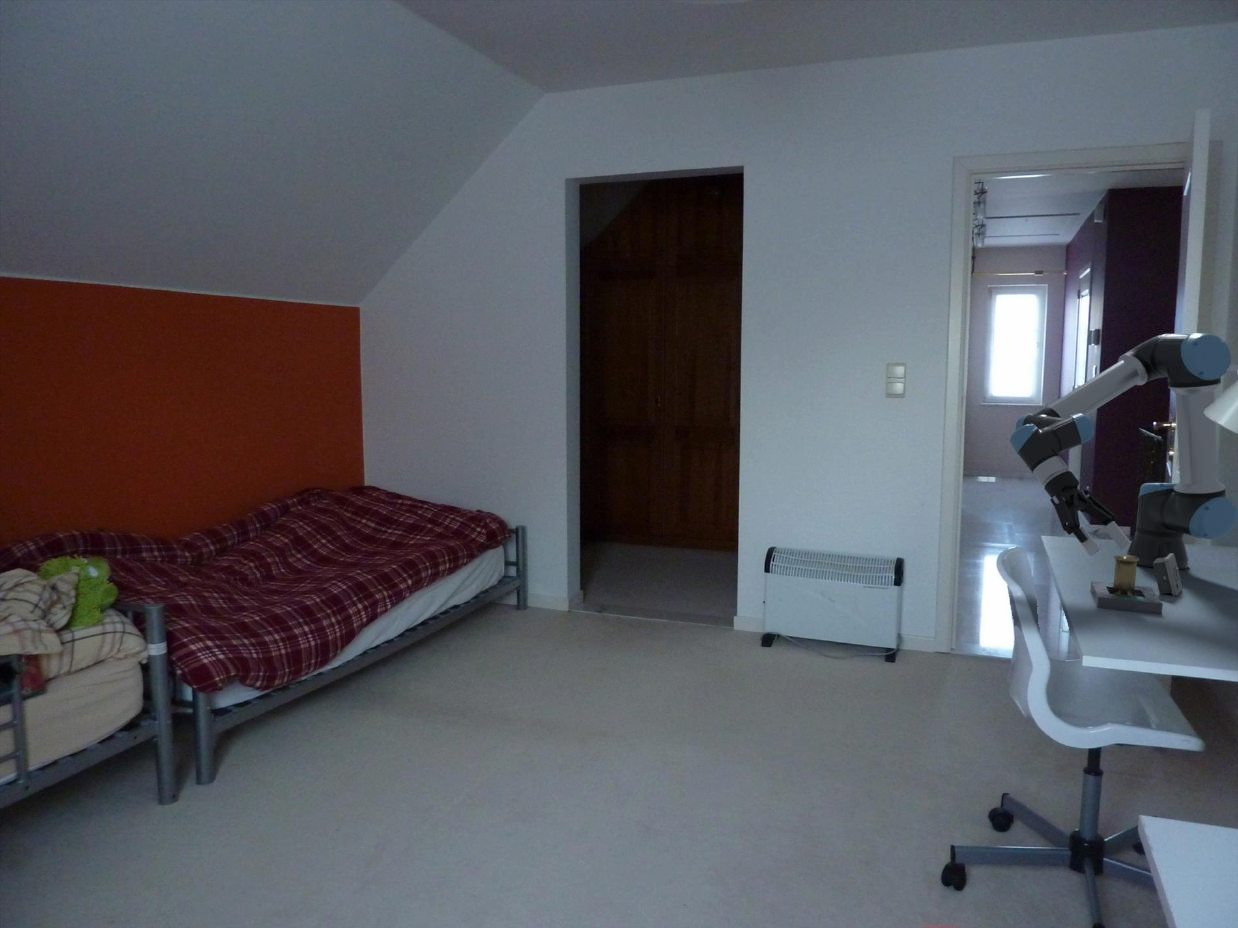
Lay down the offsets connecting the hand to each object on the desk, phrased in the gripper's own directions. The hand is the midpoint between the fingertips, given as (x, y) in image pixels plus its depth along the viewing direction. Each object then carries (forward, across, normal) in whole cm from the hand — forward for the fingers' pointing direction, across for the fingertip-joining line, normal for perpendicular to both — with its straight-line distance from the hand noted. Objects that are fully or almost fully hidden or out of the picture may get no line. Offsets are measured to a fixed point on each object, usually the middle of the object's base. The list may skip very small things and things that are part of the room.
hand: (1111, 549), depth 219 cm
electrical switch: (+12, -20, -6) cm, 24 cm away
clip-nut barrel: (+11, 0, -6) cm, 13 cm away
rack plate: (+11, 0, -6) cm, 13 cm away
